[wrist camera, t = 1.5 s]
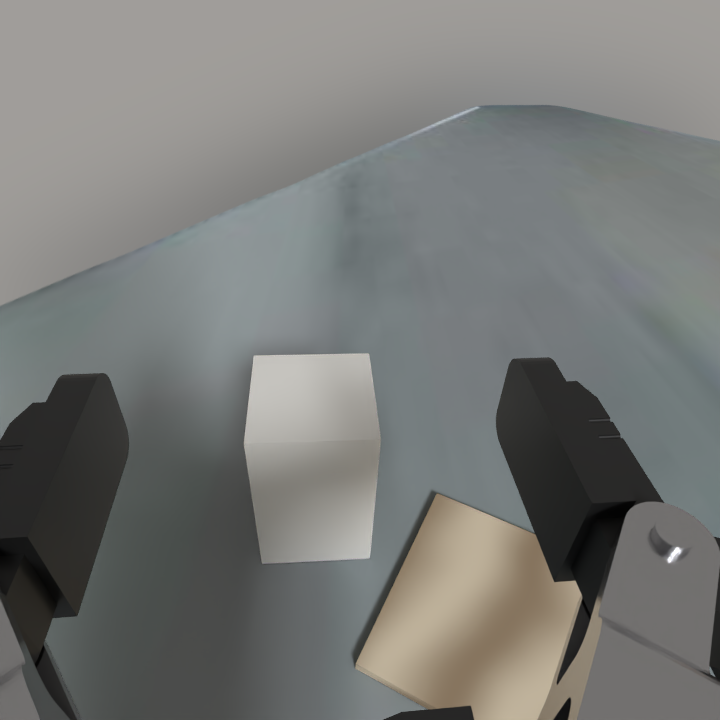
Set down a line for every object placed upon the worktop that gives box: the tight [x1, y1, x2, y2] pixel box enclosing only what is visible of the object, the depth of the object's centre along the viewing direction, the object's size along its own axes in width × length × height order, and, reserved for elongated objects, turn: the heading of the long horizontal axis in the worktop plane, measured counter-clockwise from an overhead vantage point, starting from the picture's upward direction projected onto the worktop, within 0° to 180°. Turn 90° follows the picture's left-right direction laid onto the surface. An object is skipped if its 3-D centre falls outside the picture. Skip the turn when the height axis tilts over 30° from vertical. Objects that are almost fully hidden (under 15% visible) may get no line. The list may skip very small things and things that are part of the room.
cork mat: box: [355, 493, 581, 720], centre depth 28 cm, size 11×11×1 cm
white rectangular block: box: [244, 353, 381, 564], centre depth 29 cm, size 6×6×10 cm
